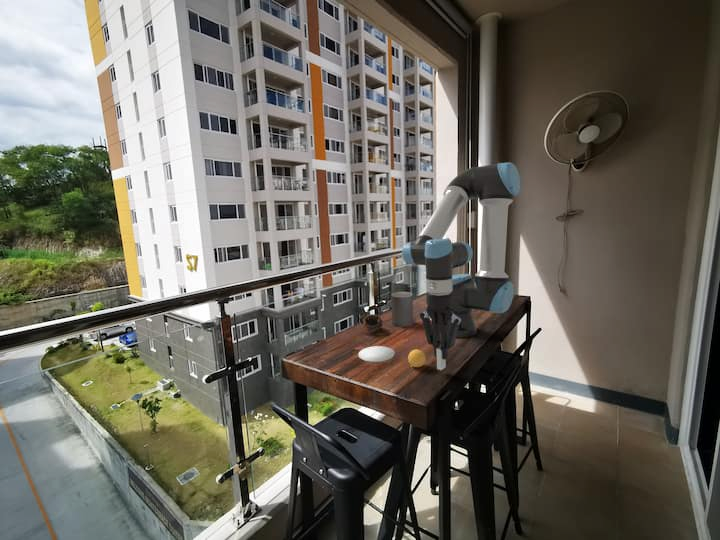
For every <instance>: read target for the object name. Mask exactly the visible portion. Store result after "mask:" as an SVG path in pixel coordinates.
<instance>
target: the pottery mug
mask: <svg viewBox="0 0 720 540" xmlns="http://www.w3.org/2000/svg"><path fill="white" fill-rule="evenodd" d="M358 321H359V322H360V324H361V325H362V326H363V328H364V333H365V334H366V335H368V334H369V333H373V332H377V331H378V330H380V329H381V328H382V327H383V328H384V325H383V320H382V318H381V317H380V316H379V315H378V314H374V313H371V314H367V315H360V316H359V318H358Z"/></svg>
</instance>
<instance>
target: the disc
mask: <svg viewBox="0 0 720 540" xmlns="http://www.w3.org/2000/svg"><path fill="white" fill-rule="evenodd" d="M395 354H396V352H395V350H394V349H392V348H391V347H388V346H384V345H383V346H382V345H376V346H375V345H374V346H369V347H364V348H363V349H361V350H360V351H359V352H358V354H357V355H358V358H359V359H361V360H362V361H365V362H369V363H379V362H386V361H389V360H390V359H392V358H394V356H395Z"/></svg>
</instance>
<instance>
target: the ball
mask: <svg viewBox="0 0 720 540" xmlns="http://www.w3.org/2000/svg"><path fill="white" fill-rule="evenodd" d="M407 357H408V358H407V360H408V362H409V364H410V365H411V366H412V367H414V368H420V367H423V366H424V364H425V363H426V354H425V353H424V352H423V351H422V350H420V349H417V348H416V349H413V350H411V351H410V352H409V354H408V356H407Z"/></svg>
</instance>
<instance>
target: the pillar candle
mask: <svg viewBox="0 0 720 540" xmlns="http://www.w3.org/2000/svg"><path fill="white" fill-rule="evenodd" d="M413 295H414V294H413V293H412V292H407V291H396V292H392V293H391V294H390V297H391V300H390V301H391V319H392V322H391V324H392V326H394V327H396V328H397V327H398V328H407V327H411V326H413V324H414V303H413V302H414V301H413V300H414V296H413Z"/></svg>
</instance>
